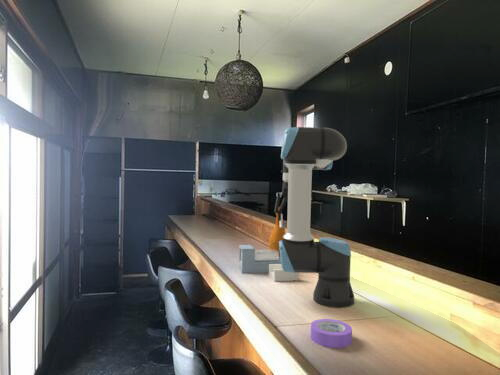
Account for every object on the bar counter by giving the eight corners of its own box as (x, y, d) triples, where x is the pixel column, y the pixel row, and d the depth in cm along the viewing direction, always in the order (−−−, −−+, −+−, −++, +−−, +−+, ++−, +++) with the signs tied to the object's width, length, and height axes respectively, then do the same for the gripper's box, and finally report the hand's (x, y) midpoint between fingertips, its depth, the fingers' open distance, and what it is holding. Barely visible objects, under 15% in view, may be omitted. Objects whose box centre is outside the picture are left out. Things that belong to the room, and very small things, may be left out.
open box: (286, 271, 183) (287, 248, 182) (242, 273, 179) (242, 249, 178) (281, 266, 193) (281, 244, 192) (238, 267, 188) (239, 245, 188)
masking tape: (345, 330, 115) (345, 318, 114) (357, 348, 103) (357, 334, 103) (307, 330, 114) (307, 318, 114) (315, 348, 103) (315, 334, 102)
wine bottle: (286, 264, 197) (287, 207, 196) (267, 263, 199) (268, 207, 198) (288, 260, 206) (289, 206, 205) (270, 259, 208) (271, 205, 207)
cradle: (298, 280, 168) (298, 269, 167) (274, 281, 166) (274, 270, 165) (291, 274, 178) (291, 263, 178) (268, 274, 176) (268, 264, 176)
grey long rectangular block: (275, 260, 190) (275, 249, 189) (278, 262, 184) (278, 251, 184) (240, 261, 186) (240, 250, 186) (242, 263, 181) (242, 252, 181)
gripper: (307, 181, 192) (306, 225, 193) (268, 181, 188) (267, 226, 189) (312, 181, 185) (311, 227, 186) (271, 181, 181) (270, 228, 182)
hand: (289, 226), depth 187 cm, fingers open, 8 cm apart
